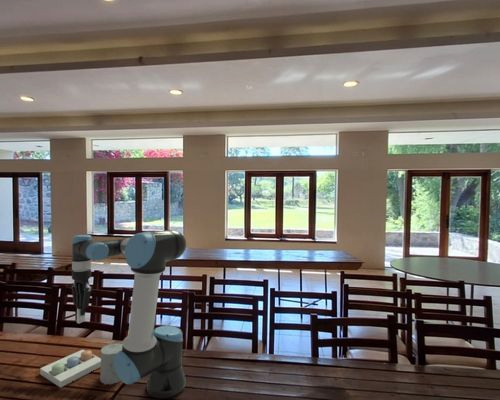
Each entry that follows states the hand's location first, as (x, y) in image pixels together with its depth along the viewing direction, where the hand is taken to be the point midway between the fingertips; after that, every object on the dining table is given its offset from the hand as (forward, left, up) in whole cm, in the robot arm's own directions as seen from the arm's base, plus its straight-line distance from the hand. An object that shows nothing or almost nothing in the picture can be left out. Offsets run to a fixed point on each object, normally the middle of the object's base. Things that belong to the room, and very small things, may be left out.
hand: (80, 322), depth 130 cm
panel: (-2, +4, -19) cm, 20 cm away
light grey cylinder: (-21, -2, -19) cm, 28 cm away
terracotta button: (-2, -2, -19) cm, 19 cm away
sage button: (-2, +10, -19) cm, 21 cm away
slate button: (-2, +4, -19) cm, 19 cm away
